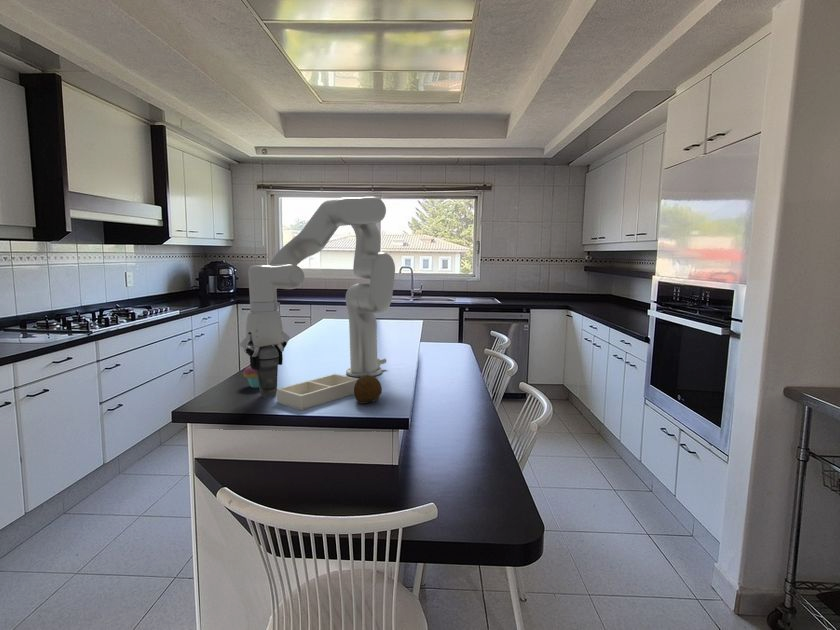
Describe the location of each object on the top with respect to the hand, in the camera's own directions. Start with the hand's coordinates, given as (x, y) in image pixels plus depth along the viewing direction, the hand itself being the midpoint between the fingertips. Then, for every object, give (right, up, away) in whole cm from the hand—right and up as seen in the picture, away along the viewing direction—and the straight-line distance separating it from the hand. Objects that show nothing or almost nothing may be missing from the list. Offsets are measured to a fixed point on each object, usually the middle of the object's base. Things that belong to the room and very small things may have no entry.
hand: (267, 366), depth 141 cm
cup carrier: (+16, -9, -1) cm, 18 cm away
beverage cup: (0, -9, +1) cm, 9 cm away
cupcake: (-7, -8, +12) cm, 16 cm away
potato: (+31, -10, -6) cm, 33 cm away
